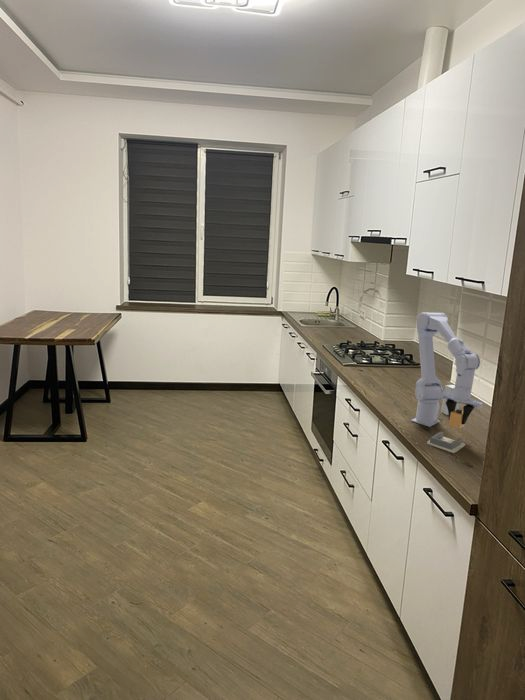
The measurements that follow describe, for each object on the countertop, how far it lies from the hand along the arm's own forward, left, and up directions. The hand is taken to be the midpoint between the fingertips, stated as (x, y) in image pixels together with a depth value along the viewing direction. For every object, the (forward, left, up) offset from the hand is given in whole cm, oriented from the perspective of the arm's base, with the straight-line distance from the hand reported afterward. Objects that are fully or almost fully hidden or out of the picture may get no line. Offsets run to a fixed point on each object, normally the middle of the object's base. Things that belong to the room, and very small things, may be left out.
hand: (457, 421), depth 188 cm
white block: (-29, -14, -7) cm, 32 cm away
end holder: (+7, 0, -7) cm, 10 cm away
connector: (-1, 0, -1) cm, 2 cm away
